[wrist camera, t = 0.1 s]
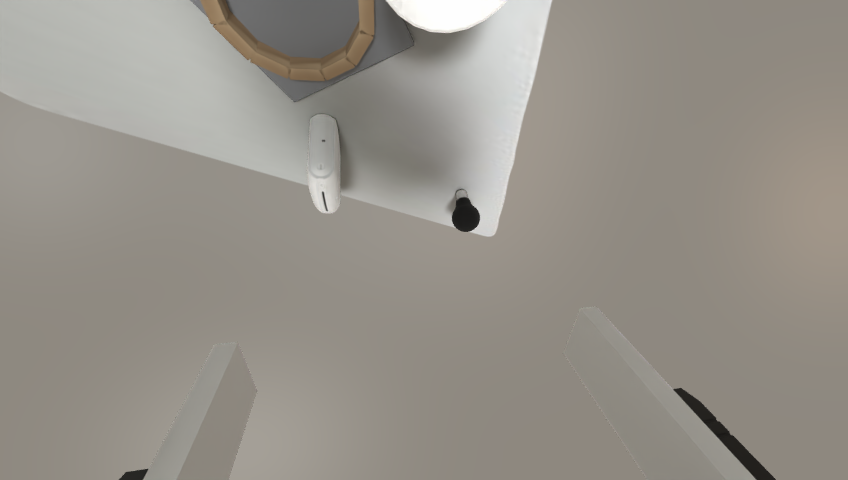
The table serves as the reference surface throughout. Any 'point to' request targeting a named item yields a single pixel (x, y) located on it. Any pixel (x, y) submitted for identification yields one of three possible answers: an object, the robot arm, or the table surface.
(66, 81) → the table surface
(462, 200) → the light bulb
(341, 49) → the collar ring
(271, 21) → the collar mat
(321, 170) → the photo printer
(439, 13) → the cup
